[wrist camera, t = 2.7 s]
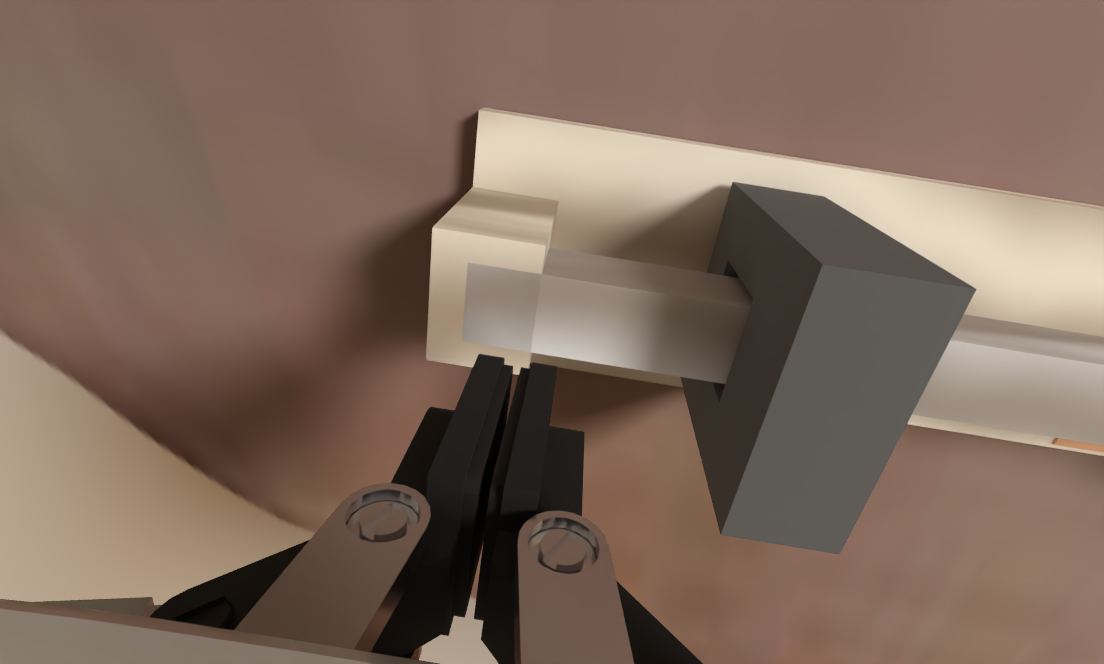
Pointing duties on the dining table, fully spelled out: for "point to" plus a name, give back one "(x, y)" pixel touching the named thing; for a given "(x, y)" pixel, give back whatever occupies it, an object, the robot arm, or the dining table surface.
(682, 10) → the dining table surface
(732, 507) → the collar
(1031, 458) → the dining table surface
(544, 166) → the pipe rig
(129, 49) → the dining table surface
